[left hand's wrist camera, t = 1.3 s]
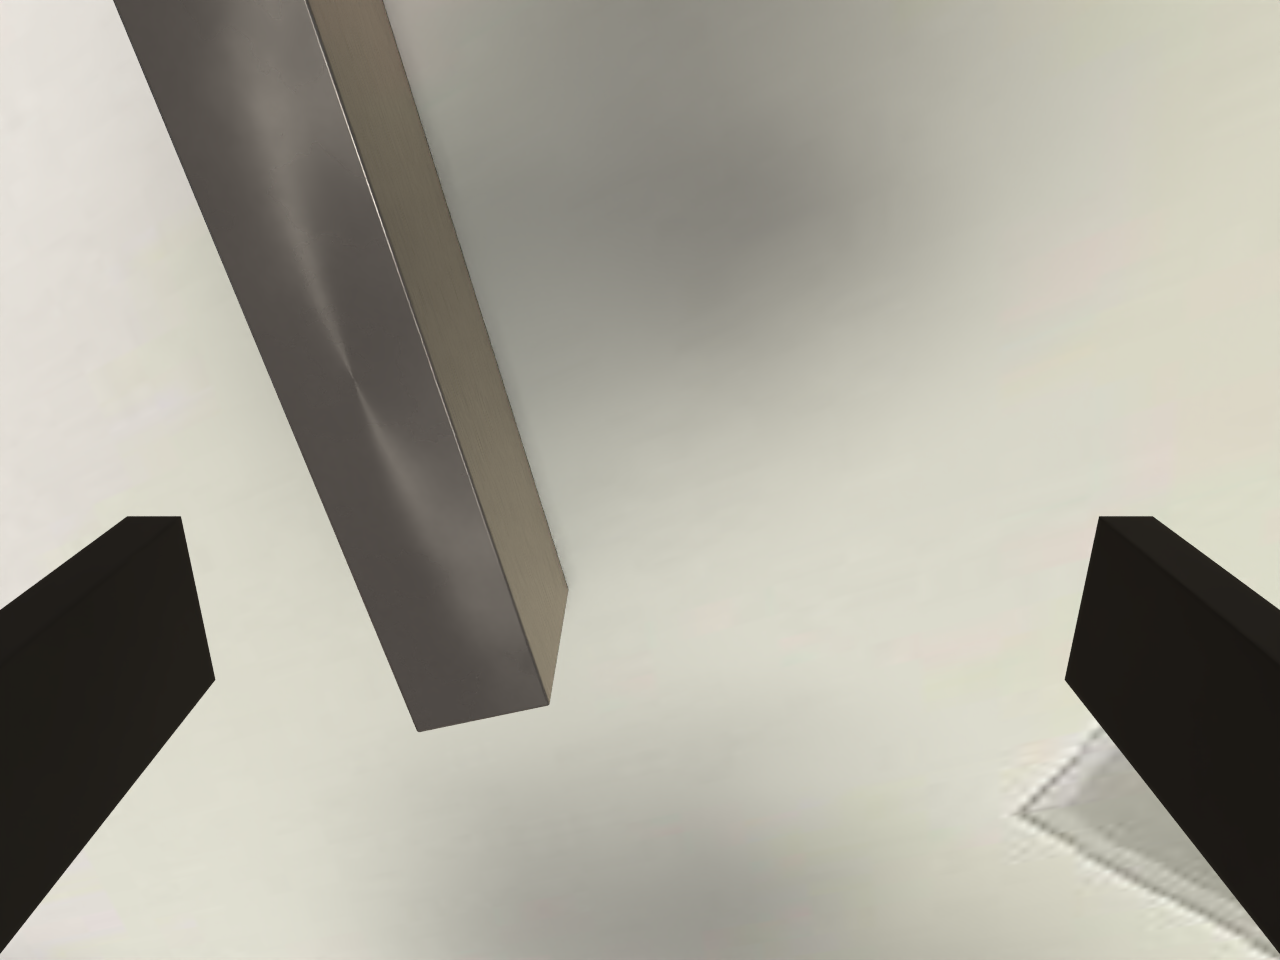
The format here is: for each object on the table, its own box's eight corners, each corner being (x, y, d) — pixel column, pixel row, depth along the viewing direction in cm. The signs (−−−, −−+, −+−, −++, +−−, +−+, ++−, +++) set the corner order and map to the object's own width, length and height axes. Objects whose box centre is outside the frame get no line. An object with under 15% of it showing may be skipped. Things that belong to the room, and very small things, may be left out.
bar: (227, -21, 30) (79, -76, 23) (363, -62, 30) (262, -133, 22) (462, 614, 40) (416, 733, 32) (569, 590, 39) (550, 706, 31)
